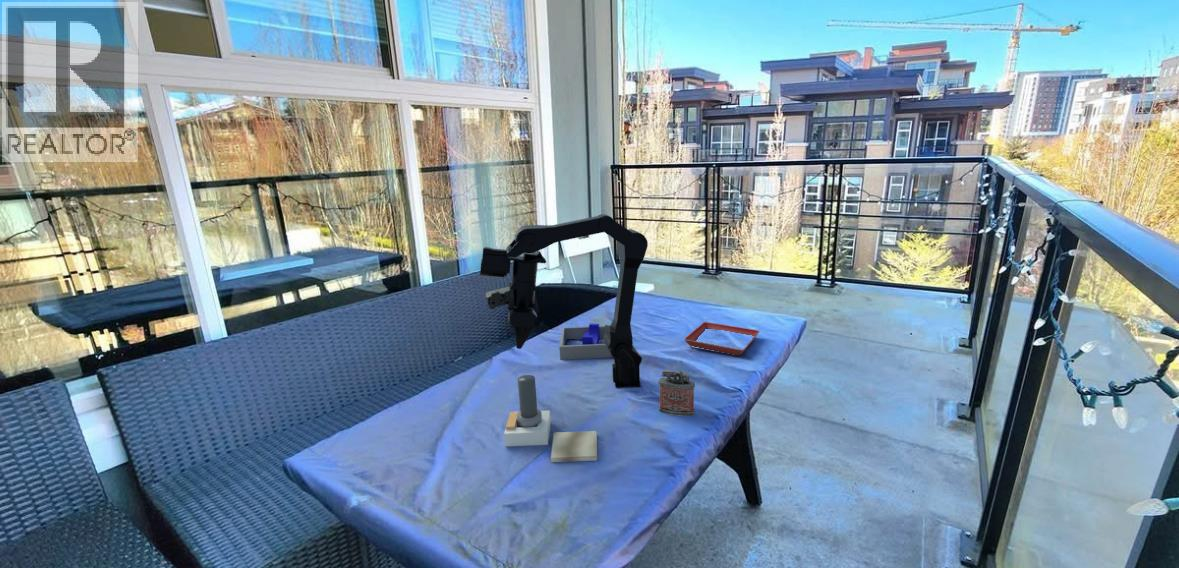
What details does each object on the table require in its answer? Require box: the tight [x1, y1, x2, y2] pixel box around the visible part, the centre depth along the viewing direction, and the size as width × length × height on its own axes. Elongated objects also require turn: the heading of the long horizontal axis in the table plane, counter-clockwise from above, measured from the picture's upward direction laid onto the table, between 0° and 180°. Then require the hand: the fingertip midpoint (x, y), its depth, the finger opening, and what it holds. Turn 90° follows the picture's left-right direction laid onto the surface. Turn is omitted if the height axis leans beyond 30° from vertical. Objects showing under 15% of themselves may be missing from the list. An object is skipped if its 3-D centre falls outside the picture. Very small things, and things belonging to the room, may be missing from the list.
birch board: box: [550, 430, 598, 463], centre depth 101 cm, size 9×9×1 cm
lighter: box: [658, 369, 696, 417], centre depth 112 cm, size 8×3×10 cm, turn 71°
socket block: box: [503, 410, 552, 447], centre depth 106 cm, size 9×9×4 cm
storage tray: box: [558, 325, 614, 360], centre depth 153 cm, size 17×17×4 cm
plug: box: [517, 374, 542, 427], centre depth 105 cm, size 5×5×13 cm
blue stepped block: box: [581, 323, 601, 345], centre depth 153 cm, size 12×4×6 cm, turn 169°
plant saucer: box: [684, 321, 760, 356], centre depth 152 cm, size 18×18×3 cm
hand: (518, 341), depth 121 cm, fingers open, 9 cm apart
